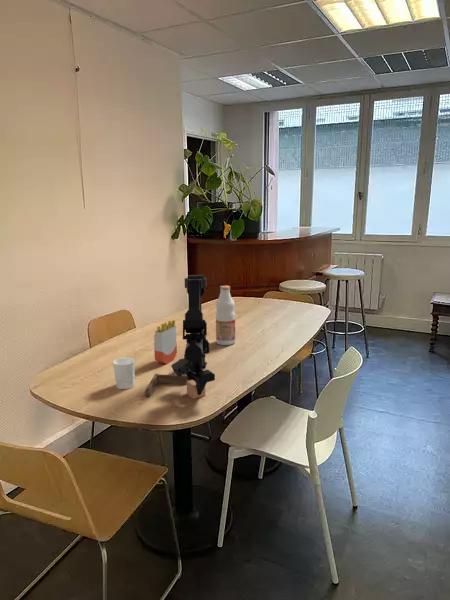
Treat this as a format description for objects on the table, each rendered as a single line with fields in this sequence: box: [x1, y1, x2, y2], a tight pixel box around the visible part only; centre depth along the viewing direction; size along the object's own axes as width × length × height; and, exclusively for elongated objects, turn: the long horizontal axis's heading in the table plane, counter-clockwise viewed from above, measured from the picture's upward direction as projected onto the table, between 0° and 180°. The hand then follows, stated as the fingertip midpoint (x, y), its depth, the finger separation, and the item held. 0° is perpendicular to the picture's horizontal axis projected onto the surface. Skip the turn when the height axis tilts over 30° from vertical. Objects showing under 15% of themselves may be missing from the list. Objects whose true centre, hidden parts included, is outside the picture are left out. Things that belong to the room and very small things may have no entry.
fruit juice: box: [215, 285, 236, 346], centre depth 213 cm, size 9×9×28 cm
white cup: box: [112, 356, 136, 390], centre depth 167 cm, size 8×8×10 cm
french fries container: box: [153, 319, 178, 365], centre depth 191 cm, size 5×11×18 cm, turn 153°
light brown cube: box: [186, 380, 206, 399], centre depth 160 cm, size 5×5×5 cm
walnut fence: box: [145, 373, 188, 398], centre depth 165 cm, size 14×13×3 cm
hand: (196, 391), depth 160 cm, fingers closed on light brown cube, 5 cm apart
